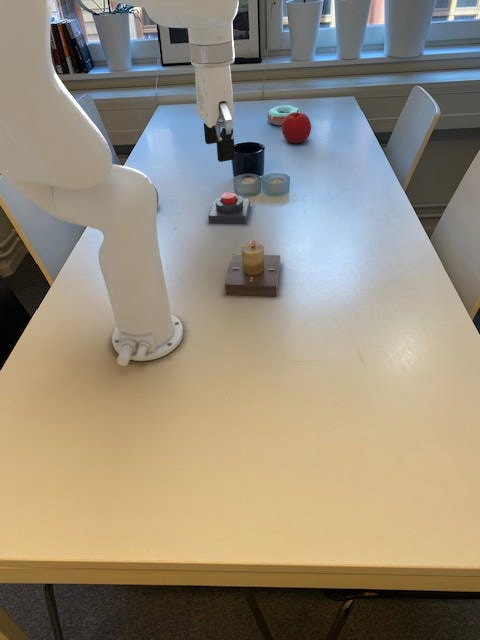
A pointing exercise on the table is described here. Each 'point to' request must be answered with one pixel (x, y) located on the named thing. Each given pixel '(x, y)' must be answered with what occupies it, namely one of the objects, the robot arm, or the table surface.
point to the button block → (229, 212)
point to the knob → (253, 258)
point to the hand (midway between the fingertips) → (219, 151)
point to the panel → (253, 278)
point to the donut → (280, 114)
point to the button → (228, 198)
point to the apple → (296, 127)
